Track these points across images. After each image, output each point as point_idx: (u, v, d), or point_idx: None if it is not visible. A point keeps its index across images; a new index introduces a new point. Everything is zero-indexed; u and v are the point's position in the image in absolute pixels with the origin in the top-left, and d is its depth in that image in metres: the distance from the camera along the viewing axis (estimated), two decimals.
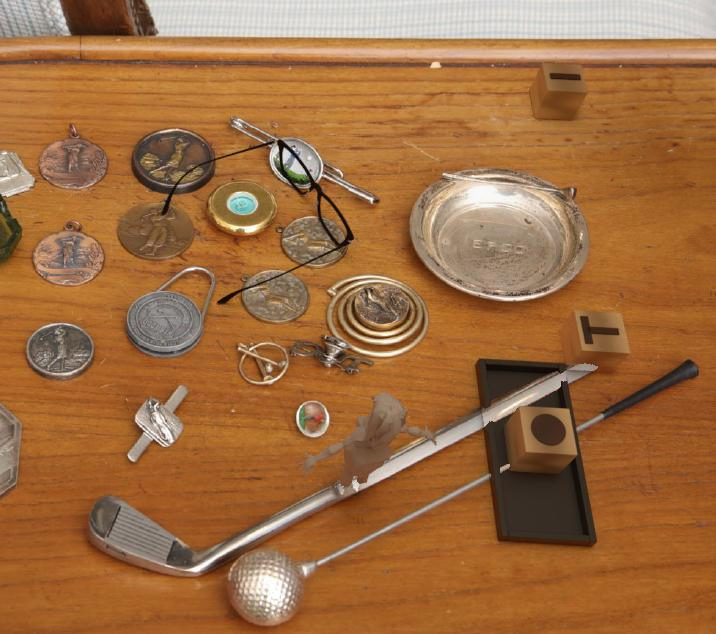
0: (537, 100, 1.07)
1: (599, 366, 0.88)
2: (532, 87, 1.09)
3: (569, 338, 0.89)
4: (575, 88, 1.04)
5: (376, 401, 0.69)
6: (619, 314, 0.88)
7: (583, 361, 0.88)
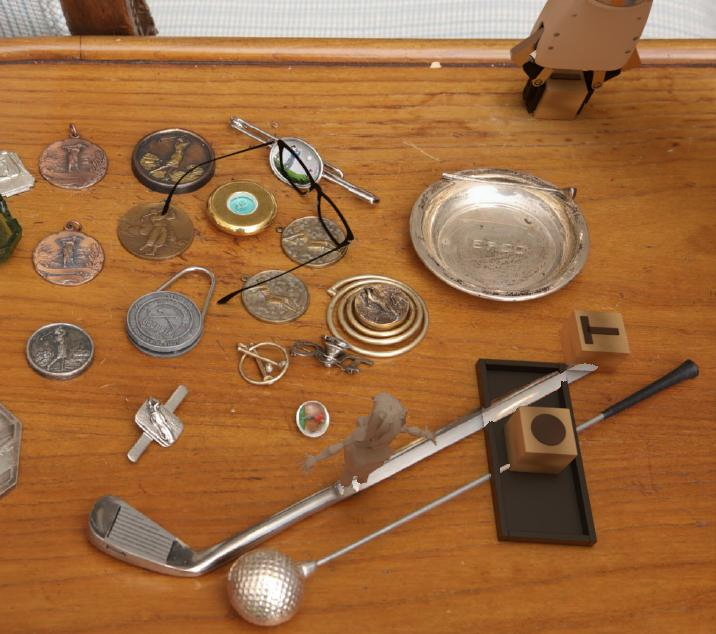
0: None
1: (599, 366, 0.88)
2: None
3: (569, 338, 0.89)
4: (575, 88, 1.04)
5: (376, 401, 0.69)
6: (619, 314, 0.88)
7: (583, 361, 0.88)
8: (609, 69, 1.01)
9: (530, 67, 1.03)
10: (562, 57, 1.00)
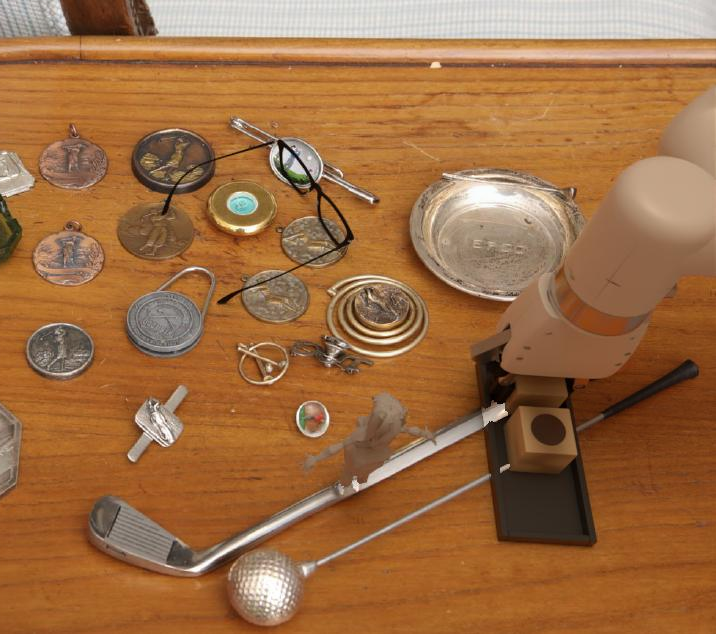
0: None
1: None
2: None
3: None
4: (553, 390, 0.83)
5: (376, 401, 0.69)
6: None
7: None
8: (594, 377, 0.80)
9: (495, 368, 0.82)
10: (535, 367, 0.78)
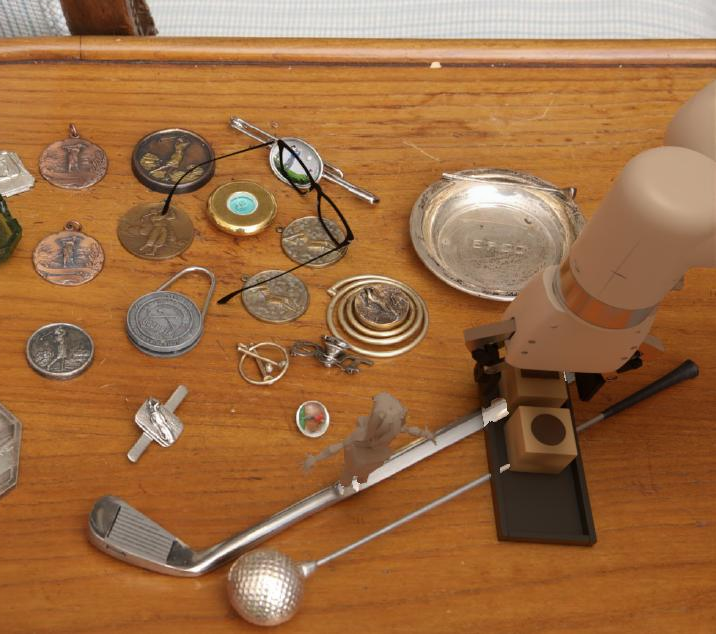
0: (506, 396, 0.86)
1: None
2: None
3: None
4: (553, 392, 0.83)
5: (376, 401, 0.69)
6: None
7: None
8: (600, 372, 0.79)
9: (480, 356, 0.80)
10: (540, 361, 0.78)
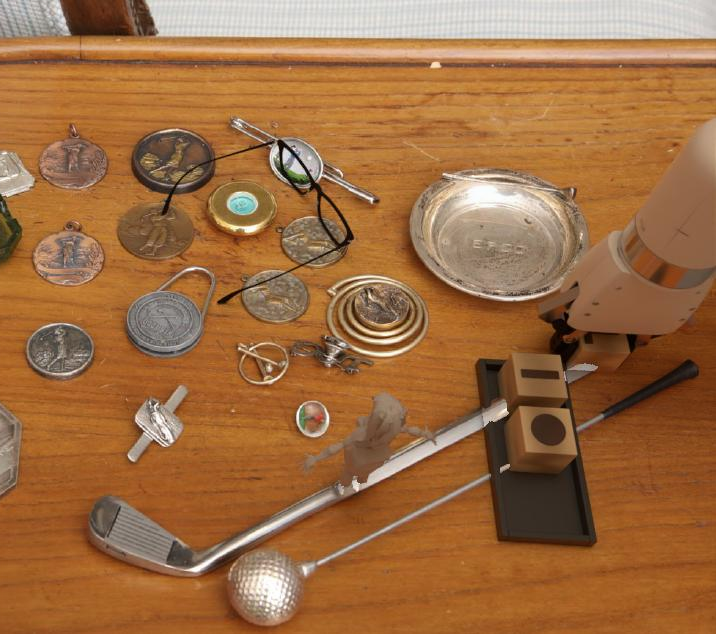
0: (506, 396, 0.86)
1: (599, 366, 0.88)
2: (500, 374, 0.88)
3: None
4: (553, 392, 0.83)
5: (376, 401, 0.69)
6: None
7: (583, 361, 0.88)
8: (657, 334, 0.83)
9: (561, 325, 0.85)
10: (601, 323, 0.82)
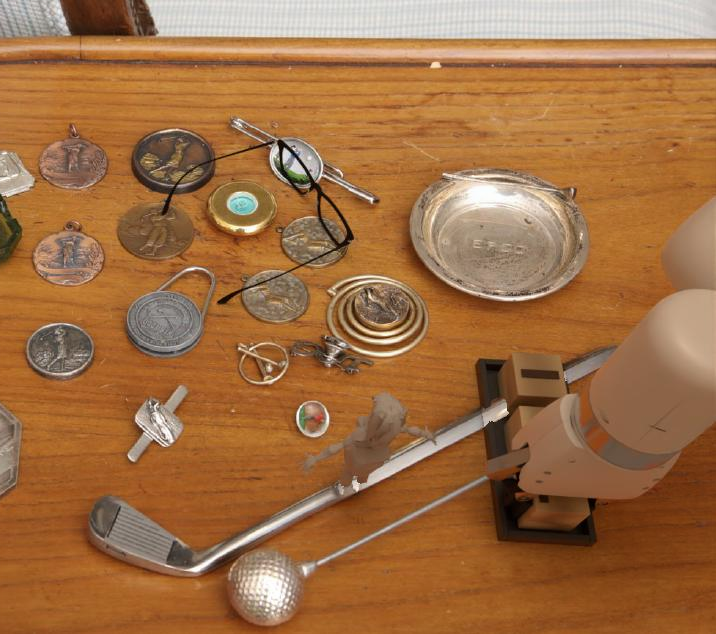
0: (506, 396, 0.86)
1: (556, 524, 0.79)
2: (500, 374, 0.88)
3: None
4: (553, 392, 0.83)
5: (376, 401, 0.69)
6: None
7: (538, 519, 0.79)
8: (619, 498, 0.74)
9: (512, 485, 0.76)
10: (555, 489, 0.73)
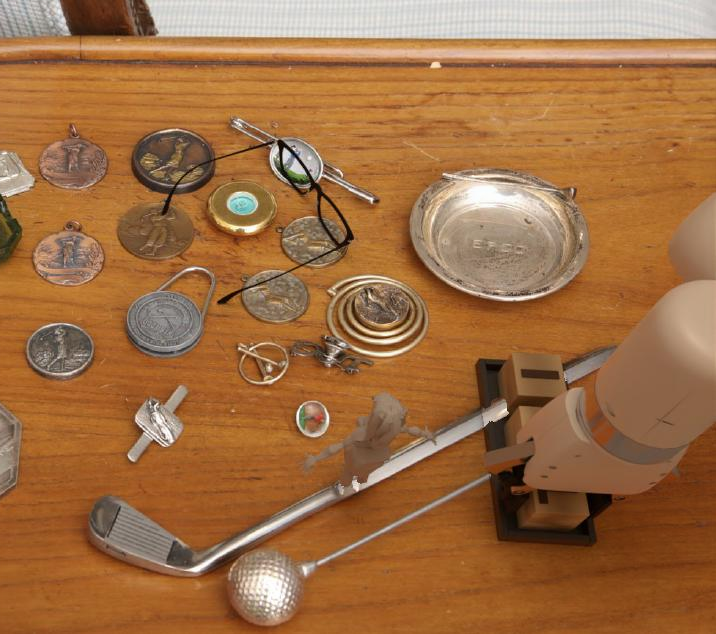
0: (506, 396, 0.86)
1: (556, 525, 0.80)
2: (500, 374, 0.88)
3: None
4: (553, 392, 0.83)
5: (376, 401, 0.69)
6: None
7: (538, 520, 0.79)
8: (625, 493, 0.73)
9: (508, 478, 0.75)
10: (560, 484, 0.72)
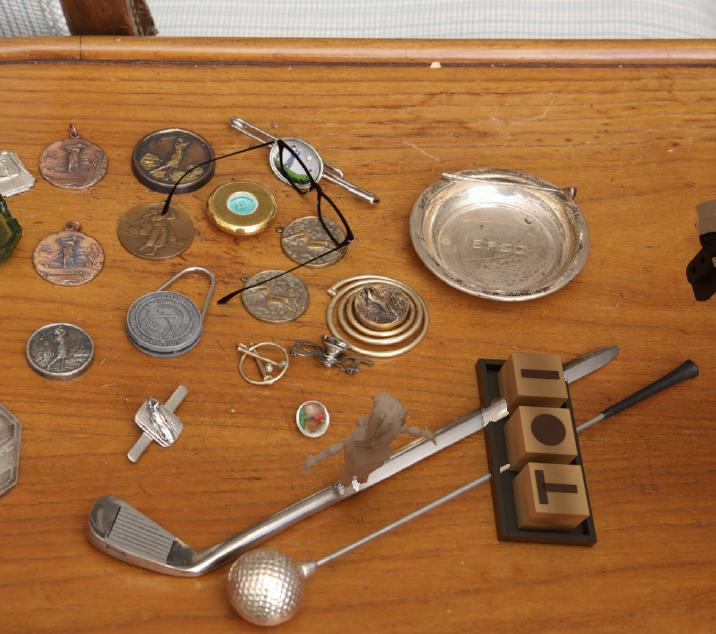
0: (506, 396, 0.86)
1: (556, 525, 0.80)
2: (500, 374, 0.88)
3: (523, 491, 0.80)
4: (553, 392, 0.83)
5: (376, 401, 0.69)
6: (578, 467, 0.79)
7: (538, 520, 0.79)
8: None
9: (714, 241, 0.60)
10: None
